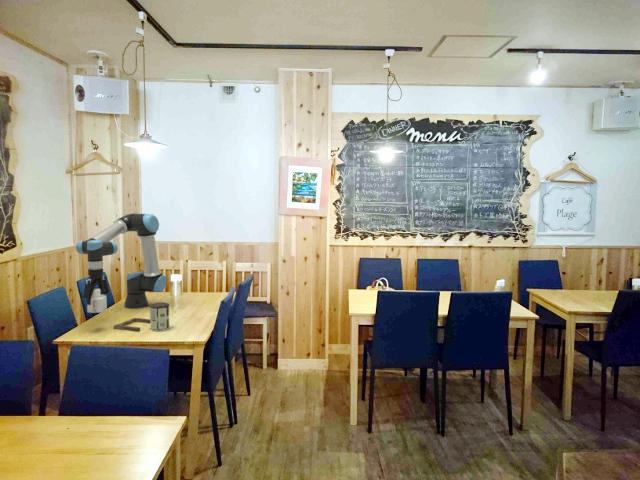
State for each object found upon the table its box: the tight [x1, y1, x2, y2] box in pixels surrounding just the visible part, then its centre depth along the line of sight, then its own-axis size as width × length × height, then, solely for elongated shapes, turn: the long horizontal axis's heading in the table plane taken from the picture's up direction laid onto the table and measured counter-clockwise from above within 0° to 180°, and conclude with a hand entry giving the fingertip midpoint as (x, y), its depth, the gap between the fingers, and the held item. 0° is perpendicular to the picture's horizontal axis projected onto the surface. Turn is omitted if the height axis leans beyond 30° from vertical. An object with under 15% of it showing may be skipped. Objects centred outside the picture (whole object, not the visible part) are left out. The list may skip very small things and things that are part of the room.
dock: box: [113, 317, 151, 333], centre depth 265 cm, size 18×16×2 cm
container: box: [86, 286, 108, 314], centre depth 253 cm, size 8×8×13 cm
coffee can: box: [149, 302, 170, 332], centre depth 260 cm, size 10×10×14 cm
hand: (97, 307), depth 253 cm, fingers closed on container, 9 cm apart
